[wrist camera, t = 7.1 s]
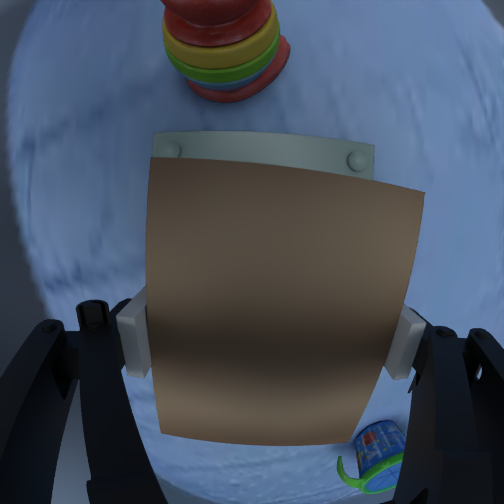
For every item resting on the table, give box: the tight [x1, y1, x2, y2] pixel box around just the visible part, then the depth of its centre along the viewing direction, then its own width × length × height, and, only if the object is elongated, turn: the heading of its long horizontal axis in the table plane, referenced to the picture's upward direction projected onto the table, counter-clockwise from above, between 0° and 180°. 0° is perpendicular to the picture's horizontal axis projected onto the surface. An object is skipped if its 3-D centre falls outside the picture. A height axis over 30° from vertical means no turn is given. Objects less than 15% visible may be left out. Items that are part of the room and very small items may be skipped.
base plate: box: [152, 131, 374, 180], centre depth 27 cm, size 22×22×2 cm
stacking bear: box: [161, 0, 290, 103], centre depth 15 cm, size 11×10×18 cm
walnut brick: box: [146, 157, 425, 446], centre depth 13 cm, size 13×10×6 cm
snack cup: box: [337, 421, 407, 494], centre depth 31 cm, size 16×10×10 cm
